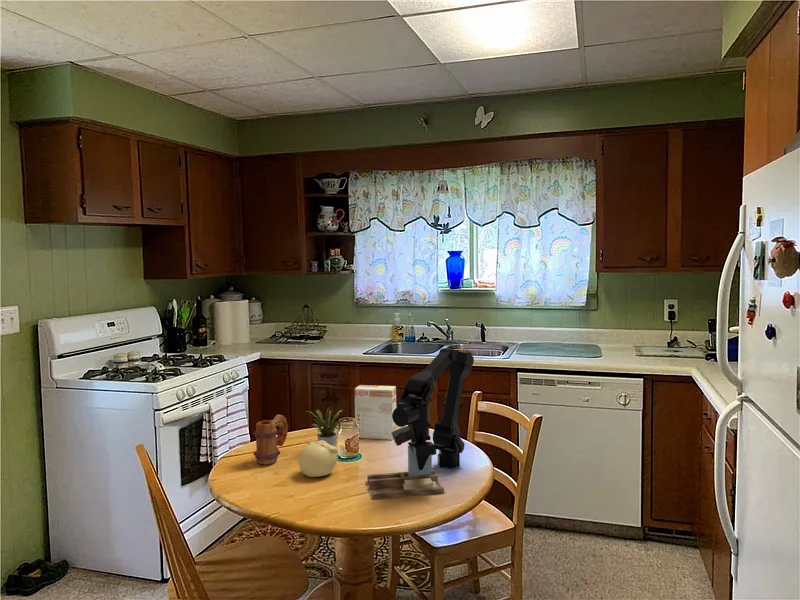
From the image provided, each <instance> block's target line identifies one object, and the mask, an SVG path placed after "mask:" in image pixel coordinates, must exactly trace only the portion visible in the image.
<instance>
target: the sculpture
mask: <svg viewBox="0 0 800 600" xmlns="http://www.w3.org/2000/svg"><path fill="white" fill-rule="evenodd" d="M338 454H339V448H338V447H336V445H335V446H332V445H330V444H328V443H327V442H326V441H324V440H320V441H318V440H317V441H310V442H307V444H306V445H305V446H304V448H302V450H301V452H300V454H299V458H298V465H299V468H300V471H301V473H302V474H304V475H305V476H306V477H310V478H320V477H323V476H327V475H330V474H331V473H332V471H333V470H334V469H335V465H336V463H337V462H338V459H339V458H338V457H339V455H338Z"/></svg>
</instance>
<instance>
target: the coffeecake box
mask: <svg viewBox="0 0 800 600" xmlns="http://www.w3.org/2000/svg"><path fill="white" fill-rule="evenodd" d="M396 408H397V386H396V385H375V384H374V385H371V384H370V385H367V384H359V385H357V386H356V387H355V388H354V420H355V419H356V420H357V423H358V424H359V426H358V429H359V435H360V438H359V439H371V440H373V439H374V440H375V439H376V440H386V439H387V440H386V441H389V440H390V441H394V439H393V436H392V434H391V433H392V432H393V431H396V430H398V429H397V427H398V426H397V425H396V424H395V423H394V421H393V419H392V414H393V411H394V410H395V409H396Z"/></svg>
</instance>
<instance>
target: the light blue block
mask: <svg viewBox="0 0 800 600" xmlns="http://www.w3.org/2000/svg"><path fill="white" fill-rule="evenodd" d="M412 449H413V446H409V445H407V472H408V477H410V476H423V475H432V470H433V466H432V465H433V455H429V457H428V459H427V461H426V463H425V466H424V468H423V470H419V467H418V462H417V456H416V455H415V453H413V451H412Z"/></svg>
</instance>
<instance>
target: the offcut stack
mask: <svg viewBox="0 0 800 600" xmlns="http://www.w3.org/2000/svg"><path fill="white" fill-rule="evenodd" d="M434 487H439V486H438V485H437V483H436V481H433V482H432V480H431V478H425V479H413V480H404V484H403V489H404V490H410V489H422V488H434Z"/></svg>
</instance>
